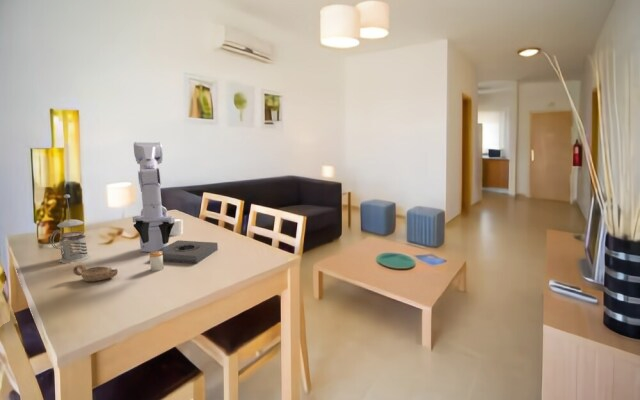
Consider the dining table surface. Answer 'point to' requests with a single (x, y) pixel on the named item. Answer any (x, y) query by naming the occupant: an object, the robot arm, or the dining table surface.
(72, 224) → the french press
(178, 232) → the cream tapered cylinder
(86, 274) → the oil lamp
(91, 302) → the dining table surface
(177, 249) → the dark grey slab
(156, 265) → the plug
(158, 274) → the dining table surface
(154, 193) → the robot arm
